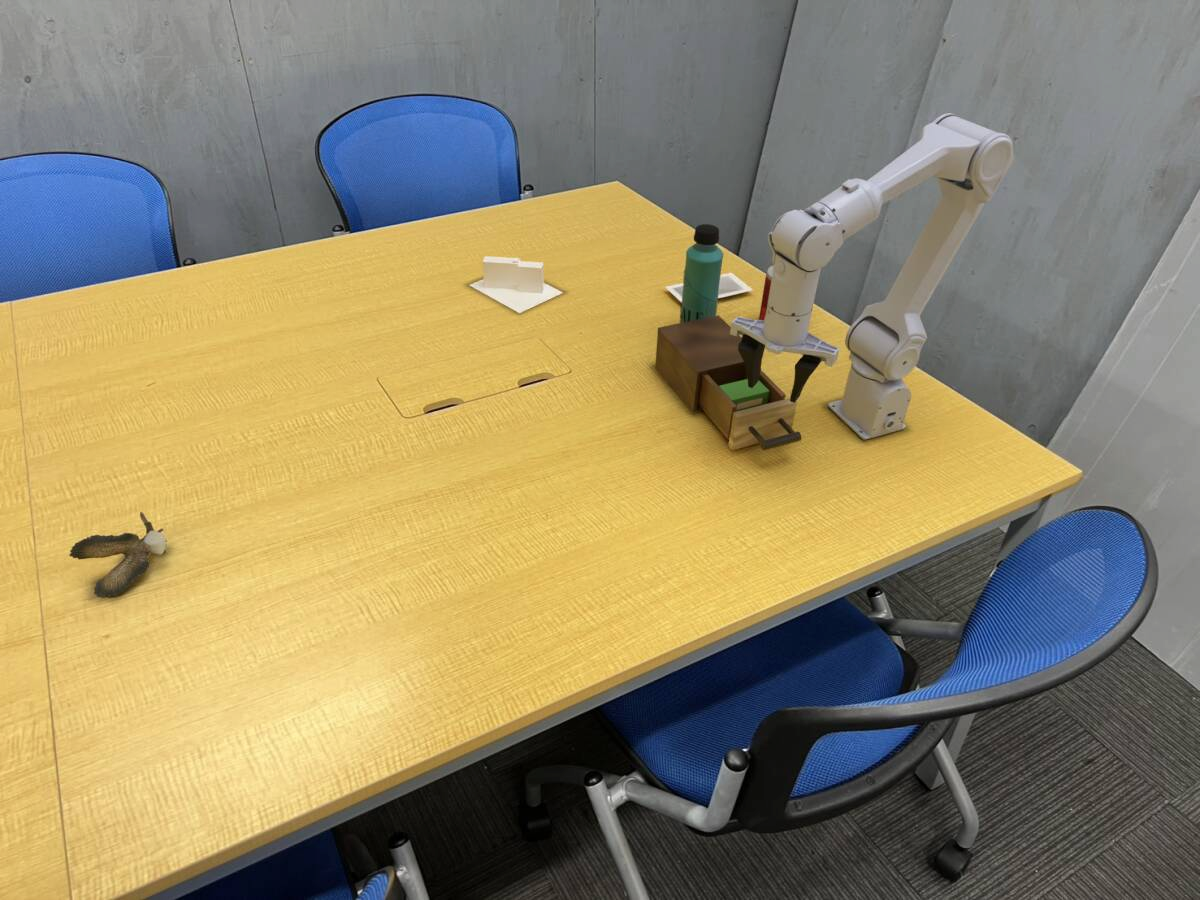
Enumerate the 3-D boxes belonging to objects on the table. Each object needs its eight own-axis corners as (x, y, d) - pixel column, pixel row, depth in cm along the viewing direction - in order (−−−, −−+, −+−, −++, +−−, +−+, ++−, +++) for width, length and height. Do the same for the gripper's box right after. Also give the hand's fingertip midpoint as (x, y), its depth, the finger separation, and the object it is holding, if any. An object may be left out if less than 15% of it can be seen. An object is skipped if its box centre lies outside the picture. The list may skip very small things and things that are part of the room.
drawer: (809, 454, 117) (817, 420, 113) (749, 470, 114) (755, 437, 110) (746, 388, 129) (751, 356, 125) (691, 401, 126) (695, 369, 122)
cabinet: (754, 397, 129) (761, 357, 124) (692, 413, 125) (697, 372, 120) (713, 354, 139) (718, 314, 134) (655, 367, 135) (657, 327, 130)
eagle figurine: (136, 526, 103) (63, 560, 96) (146, 499, 98) (71, 533, 92) (172, 572, 103) (102, 609, 96) (185, 547, 98) (112, 584, 91)
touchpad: (752, 295, 155) (754, 285, 153) (684, 310, 150) (685, 300, 148) (730, 277, 160) (731, 267, 159) (664, 292, 155) (665, 281, 154)
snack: (765, 415, 122) (770, 391, 119) (728, 424, 120) (731, 400, 117) (751, 400, 125) (755, 376, 122) (715, 409, 123) (718, 385, 120)
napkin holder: (468, 285, 156) (465, 258, 152) (511, 266, 162) (510, 239, 159) (520, 313, 148) (518, 285, 144) (564, 292, 154) (563, 265, 151)
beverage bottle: (714, 324, 146) (727, 220, 133) (714, 344, 141) (728, 237, 128) (678, 322, 146) (687, 217, 134) (677, 341, 141) (687, 235, 129)
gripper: (725, 302, 104) (714, 388, 113) (833, 335, 98) (813, 423, 107) (748, 280, 109) (735, 365, 117) (852, 311, 103) (831, 397, 111)
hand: (773, 391), depth 112 cm, fingers open, 6 cm apart
